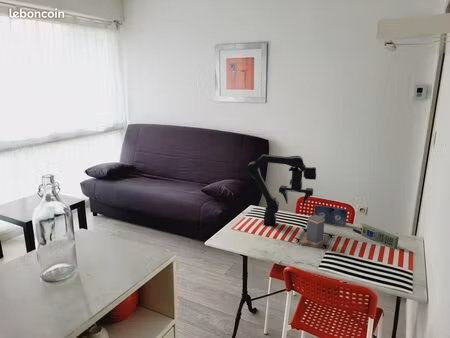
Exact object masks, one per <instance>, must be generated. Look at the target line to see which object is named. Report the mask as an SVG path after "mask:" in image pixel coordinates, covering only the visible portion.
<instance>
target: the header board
mask: <svg viewBox="0 0 450 338" xmlns="http://www.w3.org/2000/svg"><path fill="white" fill-rule="evenodd" d="M306 236H307V232H301V234H300V237H299V241H298V245H299V246H305V245H306V247H313V248H320V249H324V242H325V235H324V234H323V241H321V242H319V243H317V244H315V243H313V242H310V241H308V240H306Z"/></svg>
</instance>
